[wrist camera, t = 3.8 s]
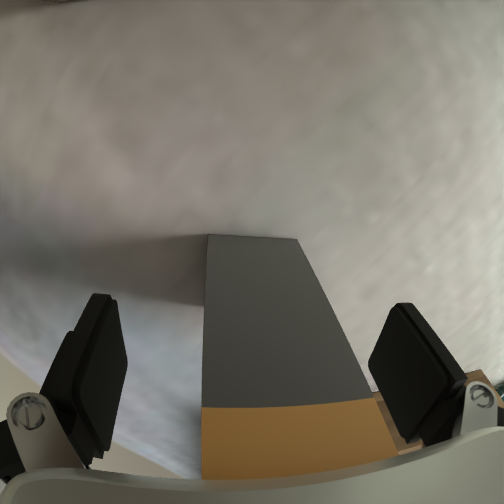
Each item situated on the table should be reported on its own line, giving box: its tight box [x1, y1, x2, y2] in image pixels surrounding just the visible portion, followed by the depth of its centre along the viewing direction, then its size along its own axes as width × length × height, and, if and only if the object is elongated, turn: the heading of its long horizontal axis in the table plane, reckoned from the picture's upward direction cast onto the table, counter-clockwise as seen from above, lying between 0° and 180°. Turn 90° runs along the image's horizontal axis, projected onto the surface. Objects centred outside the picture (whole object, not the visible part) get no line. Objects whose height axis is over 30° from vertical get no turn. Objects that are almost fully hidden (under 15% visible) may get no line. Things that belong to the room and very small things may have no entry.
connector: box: [201, 234, 399, 480], centre depth 9 cm, size 4×4×10 cm
